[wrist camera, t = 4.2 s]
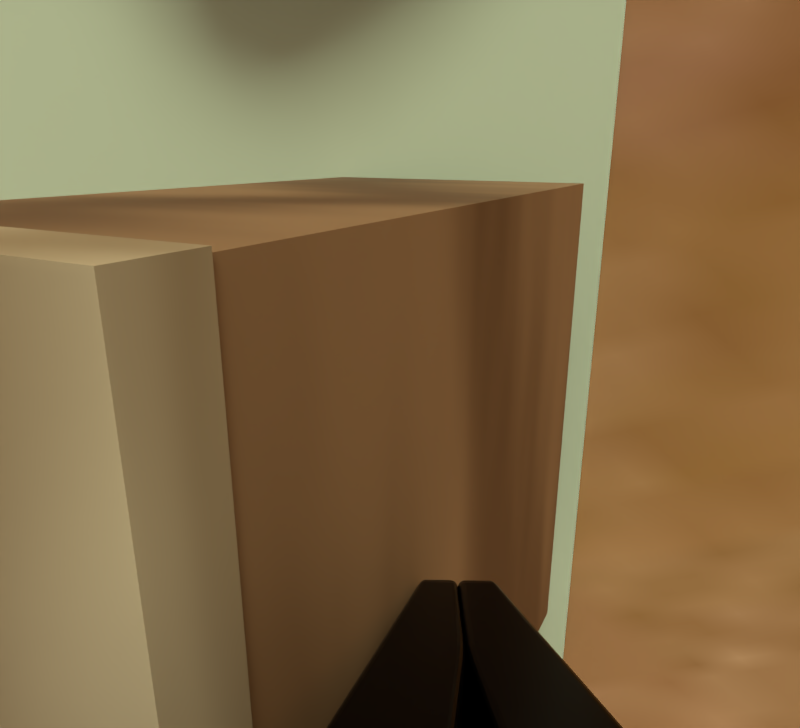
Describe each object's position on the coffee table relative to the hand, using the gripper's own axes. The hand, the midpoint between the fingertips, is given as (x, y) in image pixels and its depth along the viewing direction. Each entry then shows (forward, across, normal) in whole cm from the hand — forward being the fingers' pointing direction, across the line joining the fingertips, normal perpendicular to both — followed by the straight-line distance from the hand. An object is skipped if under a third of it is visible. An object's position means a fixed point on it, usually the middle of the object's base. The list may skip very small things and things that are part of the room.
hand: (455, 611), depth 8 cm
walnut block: (+7, 0, 0) cm, 7 cm away
